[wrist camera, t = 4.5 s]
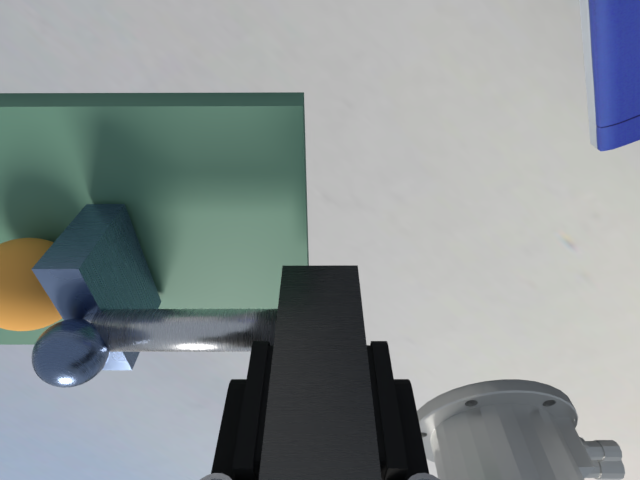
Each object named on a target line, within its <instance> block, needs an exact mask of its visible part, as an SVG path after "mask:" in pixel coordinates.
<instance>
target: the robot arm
mask: <svg viewBox="0 0 640 480" xmlns="http://www.w3.org/2000/svg"><path fill="white" fill-rule="evenodd" d="M273 346H274V345H270V342H269V341H253V343H252V348H251V355H250V361H249V367H248V373H247V379H231V380H230V383H229V386H228V390H227V395H226V400H225V405H224V410H223V415H222V420H221V425H220V430H219V435H218V440H217V445H216V450H215V455H214V460H213V465H212V470H211V474H209V475H206V476H205V477H203V478H202V479H200V480H259V472H260V463H261V454H262V445H263V436H264V427H265V418H266V409H267V400H268V391H269V382H270V373H271V364H272V355H273ZM367 353H368V362H369V371H370V380H371V389H372V398H373V407H374V416H375V425H376V434H377V443H378V452H379V461H380V470H381V479H382V480H584V478H595V479H597V480H621V479H623V478H624V475H625V468H624V465H623V462H622V460H621V459H622V451H621V449H620V446H619V445H618V444H617V442H615V441H613V440H594V441H585V440H584V439H583V438H581V437H579V435H578V433H577V431H576V429H575V428H576V426H577V423H578V415H577V412H576V409H575V408H574V406H573V404H572V402H571V401H570V399H569V397H568V396H567V395H566V394H565V393H563V392H562V391H561V390H559V389H557V388H555V387H553V386H550V385H548V384H544V383H540V382H536V381H529V380H520V379H502V380H492V381H484V382H479V383H474V384H469V385H465V386H462V387H459V388H456V389H452V390H450V391H448V392H445V393H443V394H441V395H439V396H437V397H435V398H433V399H432V400H430V401H428V402H427V403H426V404H424V405H423V406H422V407H421V408H420V409H418V411H417V409H416V404H415V399H414V394H413V389H412V385H411V382H410V380H409V379H394V378H393V372H392V365H391V359H390V353H389V347H388V343H387V341H371V343H370V345H367ZM427 459H428V460H430V461H432V462H435V465H436V470H437V475H438V478H437V477H435V476H434V475H431V474H429V469H428V464H427Z"/></svg>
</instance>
